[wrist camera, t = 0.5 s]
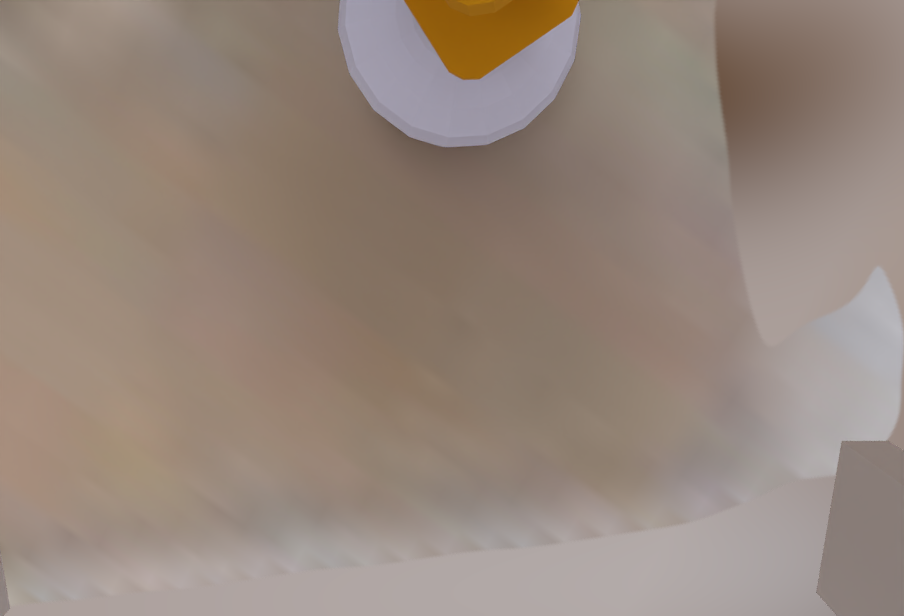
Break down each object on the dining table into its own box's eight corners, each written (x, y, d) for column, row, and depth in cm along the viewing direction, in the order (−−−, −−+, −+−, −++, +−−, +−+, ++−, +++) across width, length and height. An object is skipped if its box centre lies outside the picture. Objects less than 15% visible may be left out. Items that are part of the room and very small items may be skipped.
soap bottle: (425, 180, 36) (441, 251, 12) (324, 26, 34) (105, -247, 10) (568, 83, 35) (885, -43, 11) (473, -80, 33) (616, -651, 9)
